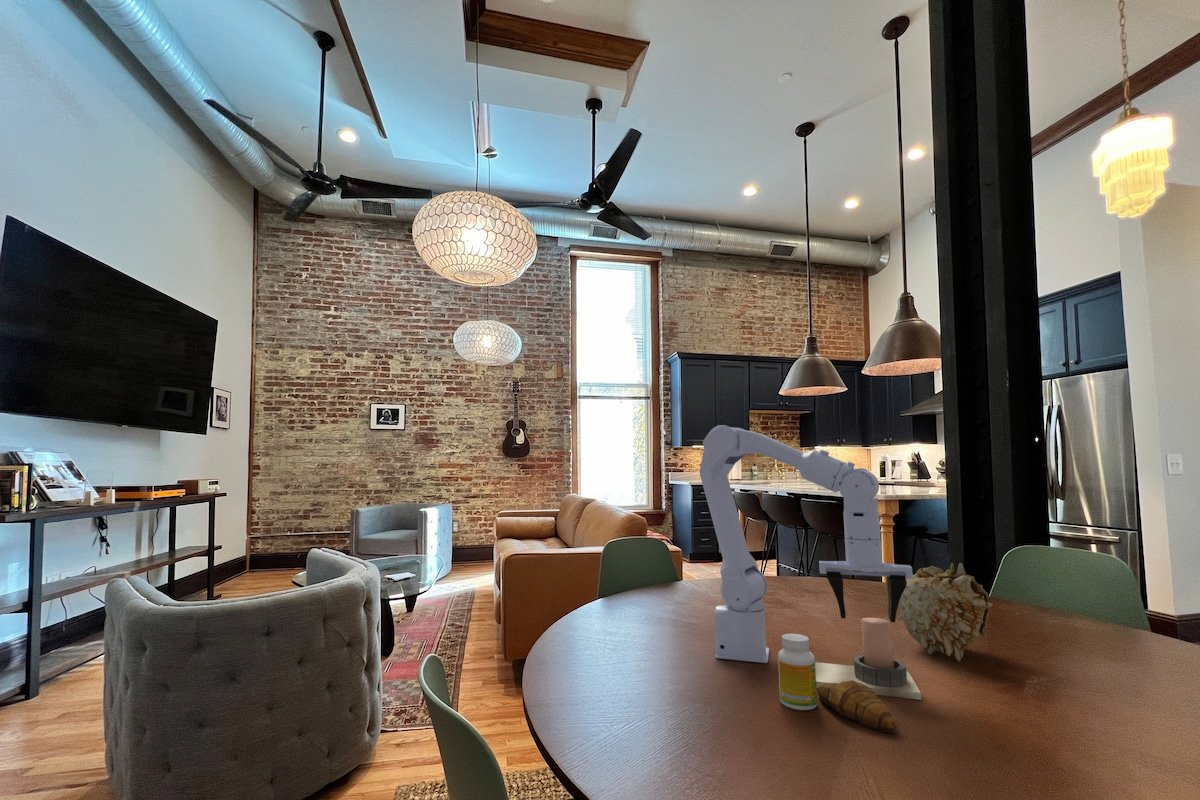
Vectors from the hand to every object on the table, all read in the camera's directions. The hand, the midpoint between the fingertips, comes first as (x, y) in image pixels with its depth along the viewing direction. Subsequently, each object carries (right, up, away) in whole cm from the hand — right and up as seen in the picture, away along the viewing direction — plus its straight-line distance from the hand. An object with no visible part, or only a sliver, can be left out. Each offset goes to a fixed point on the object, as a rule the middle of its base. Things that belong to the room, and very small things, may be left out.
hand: (867, 618), depth 95 cm
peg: (0, -8, -4) cm, 9 cm away
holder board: (-4, -10, -2) cm, 11 cm away
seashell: (+22, -11, +12) cm, 27 cm away
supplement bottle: (-16, -9, -11) cm, 21 cm away
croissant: (-9, -9, -15) cm, 19 cm away
